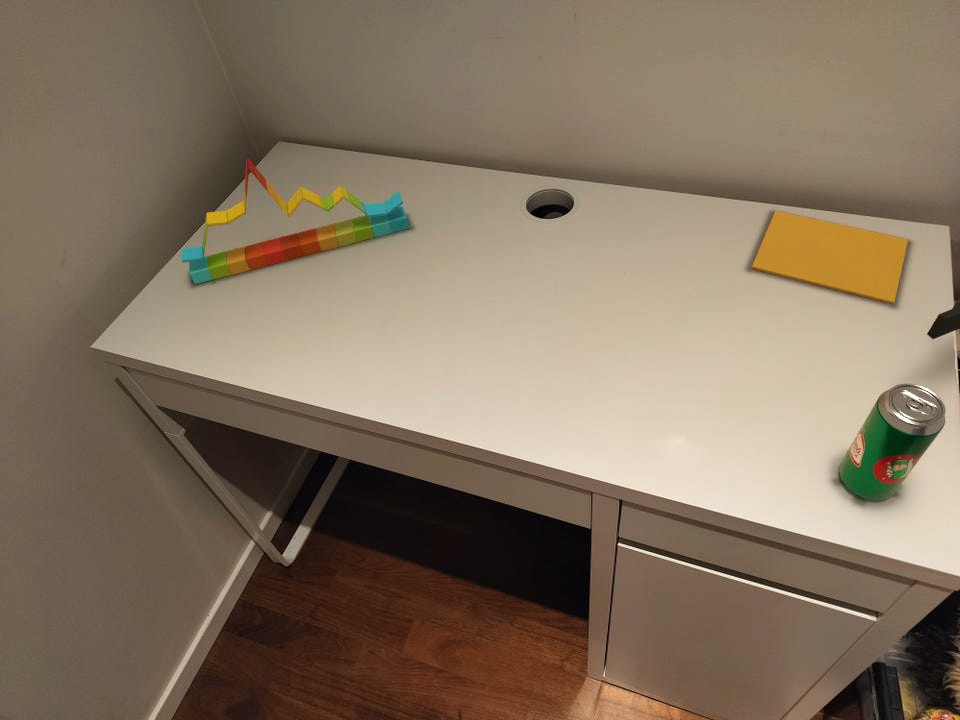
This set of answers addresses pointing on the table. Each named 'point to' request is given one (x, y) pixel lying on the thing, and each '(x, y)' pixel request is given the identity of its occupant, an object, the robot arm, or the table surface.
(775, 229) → the orange flat board
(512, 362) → the table surface
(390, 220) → the chart
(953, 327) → the robot arm
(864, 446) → the soda can
